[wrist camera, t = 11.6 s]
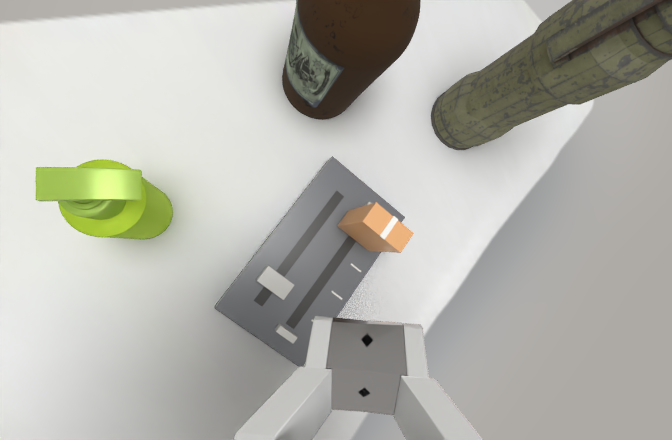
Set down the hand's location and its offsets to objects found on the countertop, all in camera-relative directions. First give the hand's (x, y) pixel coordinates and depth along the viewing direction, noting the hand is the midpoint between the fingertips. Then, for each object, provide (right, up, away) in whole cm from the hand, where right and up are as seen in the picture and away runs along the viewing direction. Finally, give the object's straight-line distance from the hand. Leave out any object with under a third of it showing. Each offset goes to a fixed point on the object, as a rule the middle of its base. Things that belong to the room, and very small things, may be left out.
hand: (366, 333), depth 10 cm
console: (-4, -2, +34) cm, 35 cm away
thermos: (+16, +17, +42) cm, 48 cm away
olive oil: (-3, +21, +36) cm, 42 cm away
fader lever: (+2, +2, +34) cm, 34 cm away
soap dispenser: (-21, +4, +30) cm, 37 cm away
